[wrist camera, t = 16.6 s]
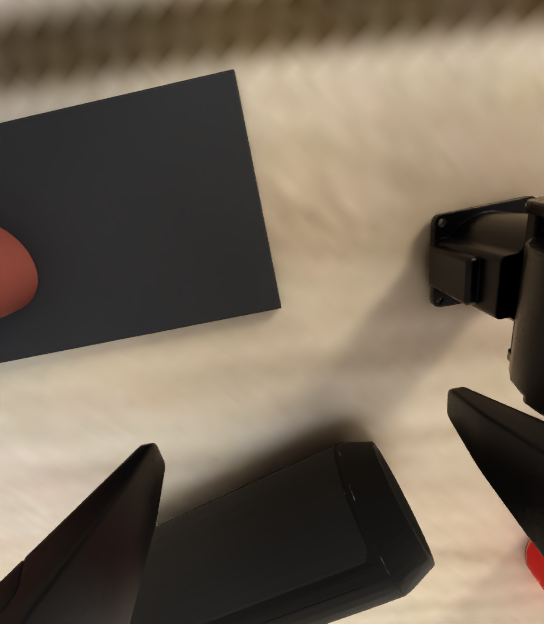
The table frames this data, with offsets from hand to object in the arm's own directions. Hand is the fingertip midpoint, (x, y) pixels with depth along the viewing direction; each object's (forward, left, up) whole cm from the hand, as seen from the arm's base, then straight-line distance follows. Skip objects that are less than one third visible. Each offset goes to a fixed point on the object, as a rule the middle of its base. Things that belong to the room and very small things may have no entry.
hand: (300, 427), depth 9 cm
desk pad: (+12, -6, -13) cm, 19 cm away
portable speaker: (+6, +20, -13) cm, 25 cm away
